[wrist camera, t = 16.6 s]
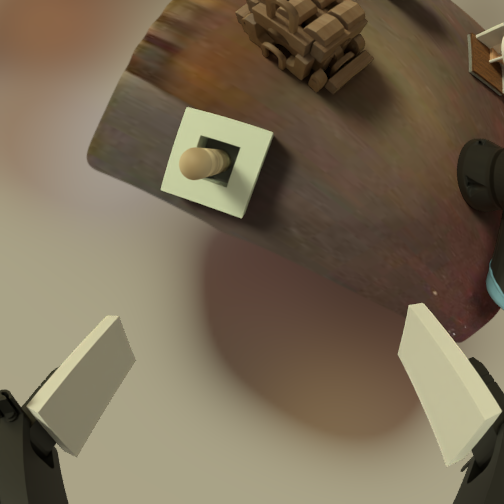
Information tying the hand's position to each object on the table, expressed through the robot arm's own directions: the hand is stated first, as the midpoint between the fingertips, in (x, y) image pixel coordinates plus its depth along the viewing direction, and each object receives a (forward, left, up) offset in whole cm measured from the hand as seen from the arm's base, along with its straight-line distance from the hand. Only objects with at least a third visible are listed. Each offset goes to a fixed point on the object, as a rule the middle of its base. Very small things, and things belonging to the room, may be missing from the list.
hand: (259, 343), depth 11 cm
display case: (-33, -51, -37) cm, 71 cm away
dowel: (+11, -4, -36) cm, 38 cm away
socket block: (+11, -4, -37) cm, 39 cm away
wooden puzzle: (+5, -30, -37) cm, 48 cm away
